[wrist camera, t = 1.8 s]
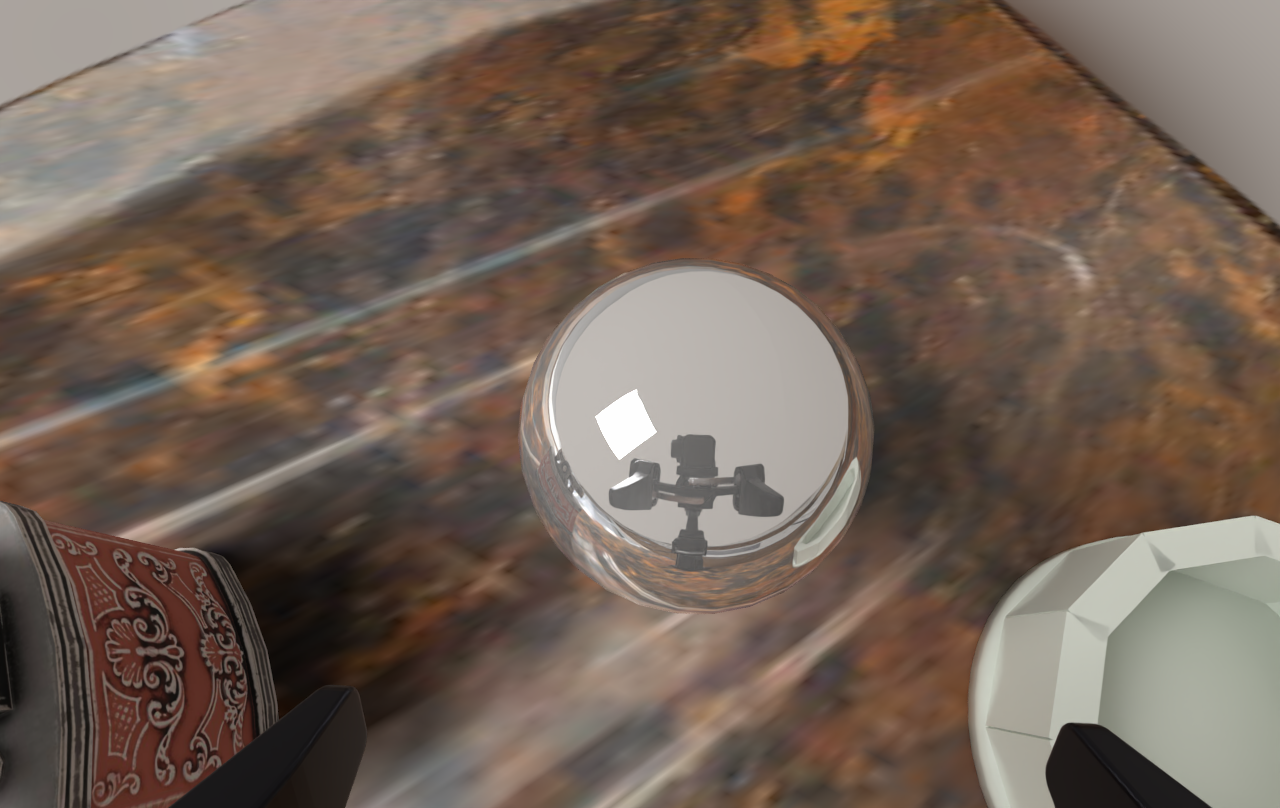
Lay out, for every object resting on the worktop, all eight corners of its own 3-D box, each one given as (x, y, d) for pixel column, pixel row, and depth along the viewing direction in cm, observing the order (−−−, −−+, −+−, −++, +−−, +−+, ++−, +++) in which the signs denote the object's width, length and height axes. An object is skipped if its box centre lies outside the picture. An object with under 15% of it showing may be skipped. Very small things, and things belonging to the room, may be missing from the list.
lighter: (130, 581, 20) (-310, 516, 11) (235, 532, 21) (-99, 431, 11) (184, 850, 18) (-340, 1064, 8) (303, 785, 18) (-63, 920, 9)
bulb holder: (1250, 1147, 15) (1448, 1309, 11) (882, 711, 19) (940, 725, 15) (1494, 790, 18) (1721, 825, 14) (1130, 468, 21) (1233, 427, 17)
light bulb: (661, 381, 23) (673, 111, 11) (825, 506, 21) (1027, 329, 10) (525, 532, 21) (379, 382, 9) (693, 683, 19) (757, 717, 8)
